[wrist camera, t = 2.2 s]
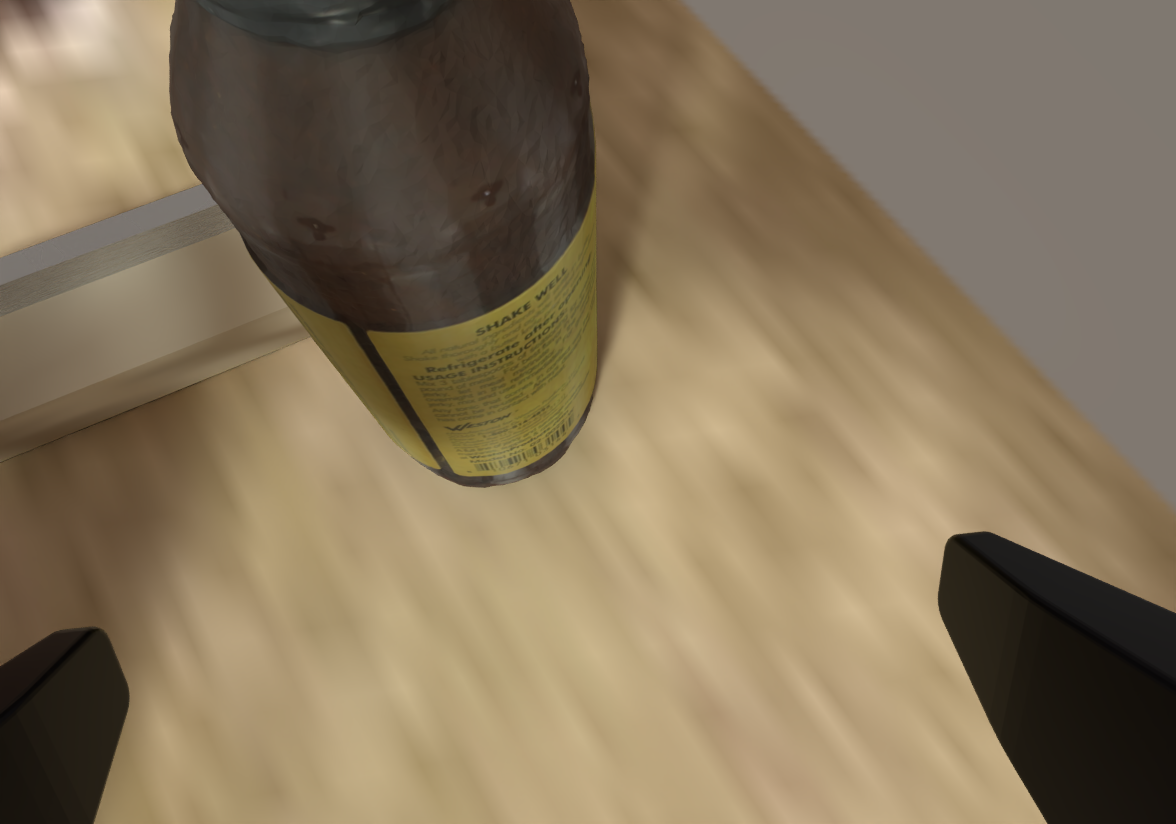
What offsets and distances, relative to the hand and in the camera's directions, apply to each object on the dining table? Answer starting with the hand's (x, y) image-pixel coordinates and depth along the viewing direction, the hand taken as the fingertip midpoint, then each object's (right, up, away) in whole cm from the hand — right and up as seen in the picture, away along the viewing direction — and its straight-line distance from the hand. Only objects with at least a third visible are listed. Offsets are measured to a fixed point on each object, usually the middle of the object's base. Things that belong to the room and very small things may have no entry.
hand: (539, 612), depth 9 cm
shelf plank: (-9, +5, +16) cm, 19 cm away
